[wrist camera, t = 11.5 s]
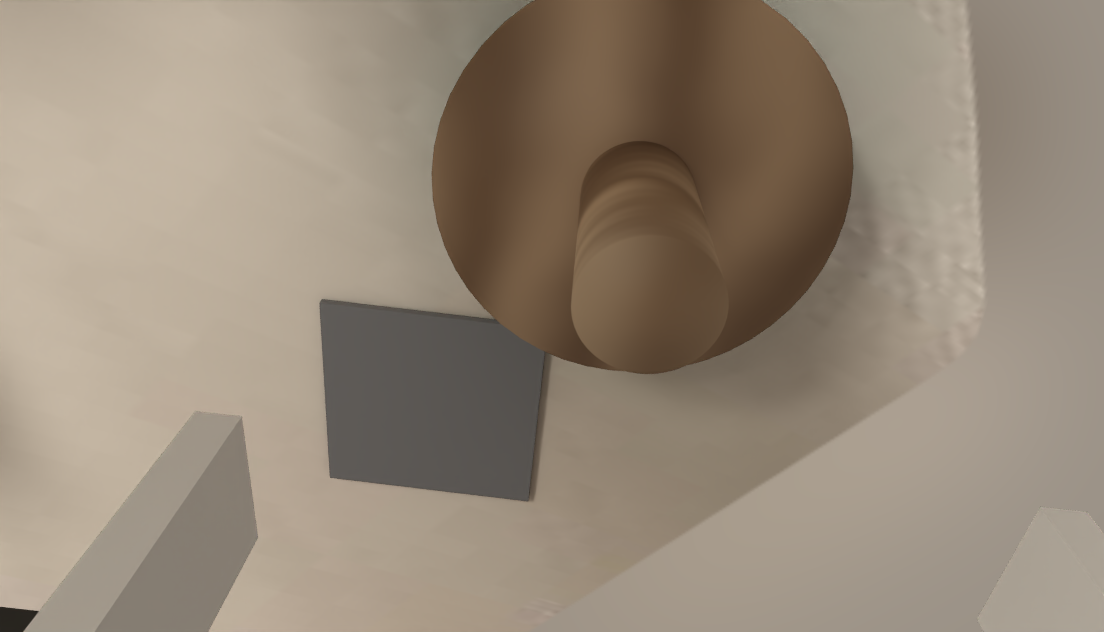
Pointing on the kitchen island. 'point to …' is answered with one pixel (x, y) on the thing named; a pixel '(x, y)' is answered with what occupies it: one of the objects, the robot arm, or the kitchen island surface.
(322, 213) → the kitchen island surface
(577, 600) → the kitchen island surface
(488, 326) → the mat
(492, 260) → the lid
